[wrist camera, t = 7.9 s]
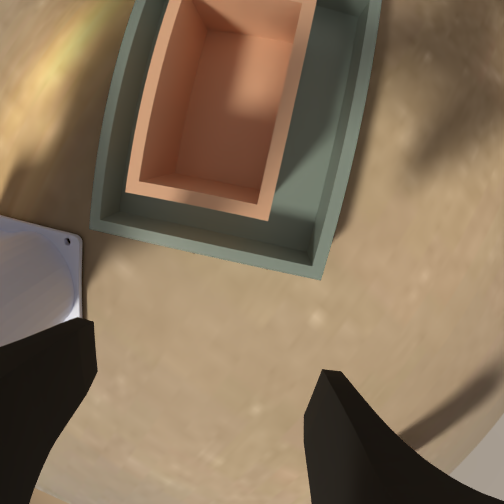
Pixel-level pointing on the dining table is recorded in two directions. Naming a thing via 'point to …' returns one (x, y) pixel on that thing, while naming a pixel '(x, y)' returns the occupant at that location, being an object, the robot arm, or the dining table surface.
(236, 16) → the small crate
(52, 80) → the dining table surface
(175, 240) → the base crate
